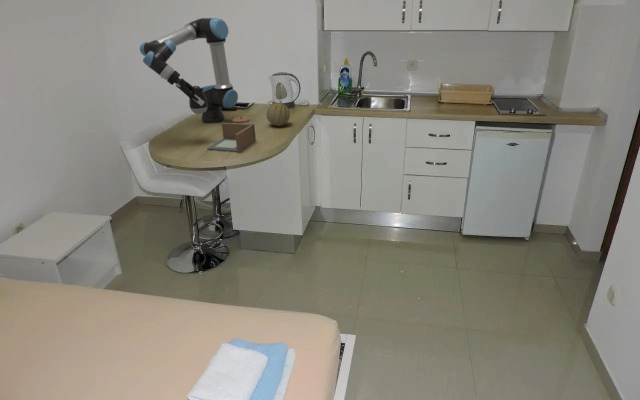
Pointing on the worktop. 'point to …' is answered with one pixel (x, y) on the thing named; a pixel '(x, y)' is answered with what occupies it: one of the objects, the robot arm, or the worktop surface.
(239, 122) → the lidded jar
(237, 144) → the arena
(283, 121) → the cantaloupe
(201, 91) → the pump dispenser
